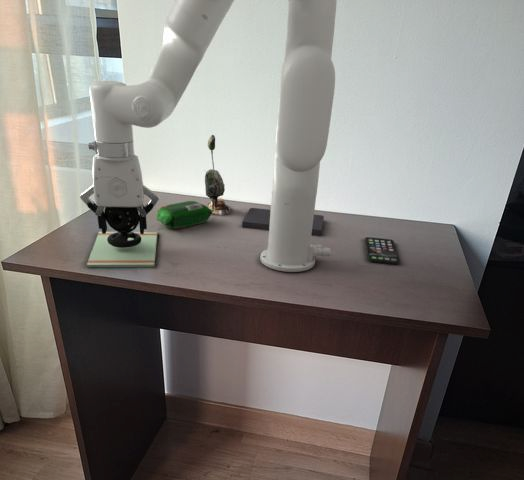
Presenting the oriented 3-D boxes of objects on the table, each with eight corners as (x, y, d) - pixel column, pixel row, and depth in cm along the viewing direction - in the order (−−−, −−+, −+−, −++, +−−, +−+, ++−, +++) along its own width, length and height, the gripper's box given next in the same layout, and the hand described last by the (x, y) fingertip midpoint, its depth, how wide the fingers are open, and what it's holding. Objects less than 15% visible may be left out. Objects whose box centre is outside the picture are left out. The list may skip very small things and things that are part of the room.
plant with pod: (195, 215, 135) (194, 138, 124) (209, 204, 144) (210, 131, 133) (223, 219, 134) (224, 142, 123) (235, 207, 143) (238, 135, 132)
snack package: (217, 222, 131) (217, 203, 128) (167, 233, 122) (166, 212, 119) (201, 215, 135) (201, 197, 132) (152, 225, 126) (151, 205, 123)
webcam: (101, 246, 108) (95, 201, 102) (115, 234, 114) (110, 191, 109) (134, 249, 107) (130, 204, 102) (146, 238, 113) (143, 195, 108)
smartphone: (368, 259, 114) (364, 236, 126) (368, 261, 114) (364, 239, 127) (400, 262, 114) (393, 239, 126) (399, 265, 114) (392, 242, 126)
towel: (157, 234, 121) (157, 231, 121) (154, 267, 104) (154, 264, 104) (99, 233, 119) (99, 231, 118) (86, 267, 102) (86, 264, 102)
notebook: (241, 227, 129) (321, 235, 127) (242, 221, 128) (322, 230, 126) (249, 212, 140) (323, 220, 138) (250, 207, 139) (324, 215, 137)
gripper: (67, 151, 95) (80, 237, 105) (157, 154, 98) (162, 238, 108) (74, 144, 101) (86, 225, 111) (159, 147, 104) (163, 226, 114)
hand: (123, 231), depth 109 cm, fingers closed on webcam, 7 cm apart
